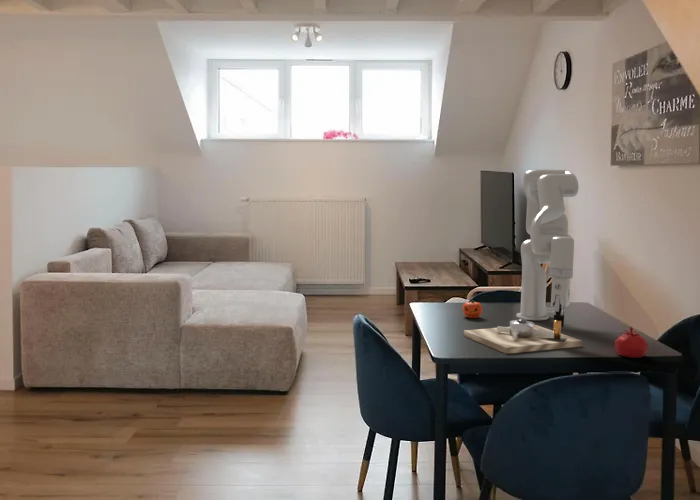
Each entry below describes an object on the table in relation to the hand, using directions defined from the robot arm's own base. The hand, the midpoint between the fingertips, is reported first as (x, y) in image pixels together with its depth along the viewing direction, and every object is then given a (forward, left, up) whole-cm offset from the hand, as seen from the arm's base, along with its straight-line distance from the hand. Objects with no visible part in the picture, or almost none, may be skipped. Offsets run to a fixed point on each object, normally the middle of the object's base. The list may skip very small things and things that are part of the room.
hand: (558, 326), depth 241 cm
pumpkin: (+5, -47, -6) cm, 48 cm away
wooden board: (+10, -7, -6) cm, 13 cm away
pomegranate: (-12, +21, -6) cm, 25 cm away
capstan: (+9, -5, -3) cm, 10 cm away
